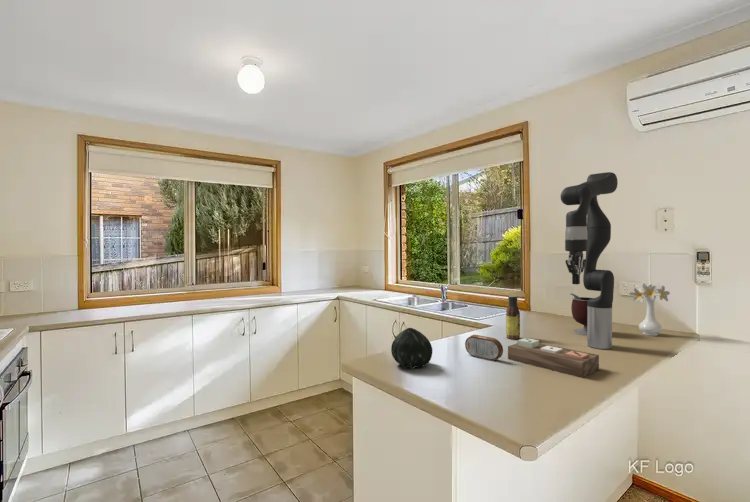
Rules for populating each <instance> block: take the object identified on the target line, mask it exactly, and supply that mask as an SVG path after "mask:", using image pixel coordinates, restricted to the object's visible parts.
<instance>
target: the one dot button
mask: <svg viewBox="0 0 750 502" xmlns="http://www.w3.org/2000/svg"><path fill="white" fill-rule="evenodd" d="M552 346H553V345H552ZM552 346H545V347H542V348H540V350H541V351H546V352H550V353H555V354H556V353H559V352H562V351H563V349H562V348H563V347H562V348H557V347H558V346H557V347H552Z"/></svg>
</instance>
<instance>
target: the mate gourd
mask: <svg viewBox="0 0 750 502" xmlns="http://www.w3.org/2000/svg"><path fill="white" fill-rule="evenodd" d="M570 295H571V296H572V297H573V298H572V300H571V301H572V302H571V315H572V318H573V320H574V321H575V322H576V323H578V324H581V325H582V326H583V327H582V328H576V329H575V328H574V329H573V330H572V331H573V333H574V334H576V335H577V334H578V335H583V336H587V314H588V313H587V305H588V300H589V299H592V298H593V297H587V296H582V297H581V296H579V295H576V294H574V293H572V292H571V293H570Z"/></svg>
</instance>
